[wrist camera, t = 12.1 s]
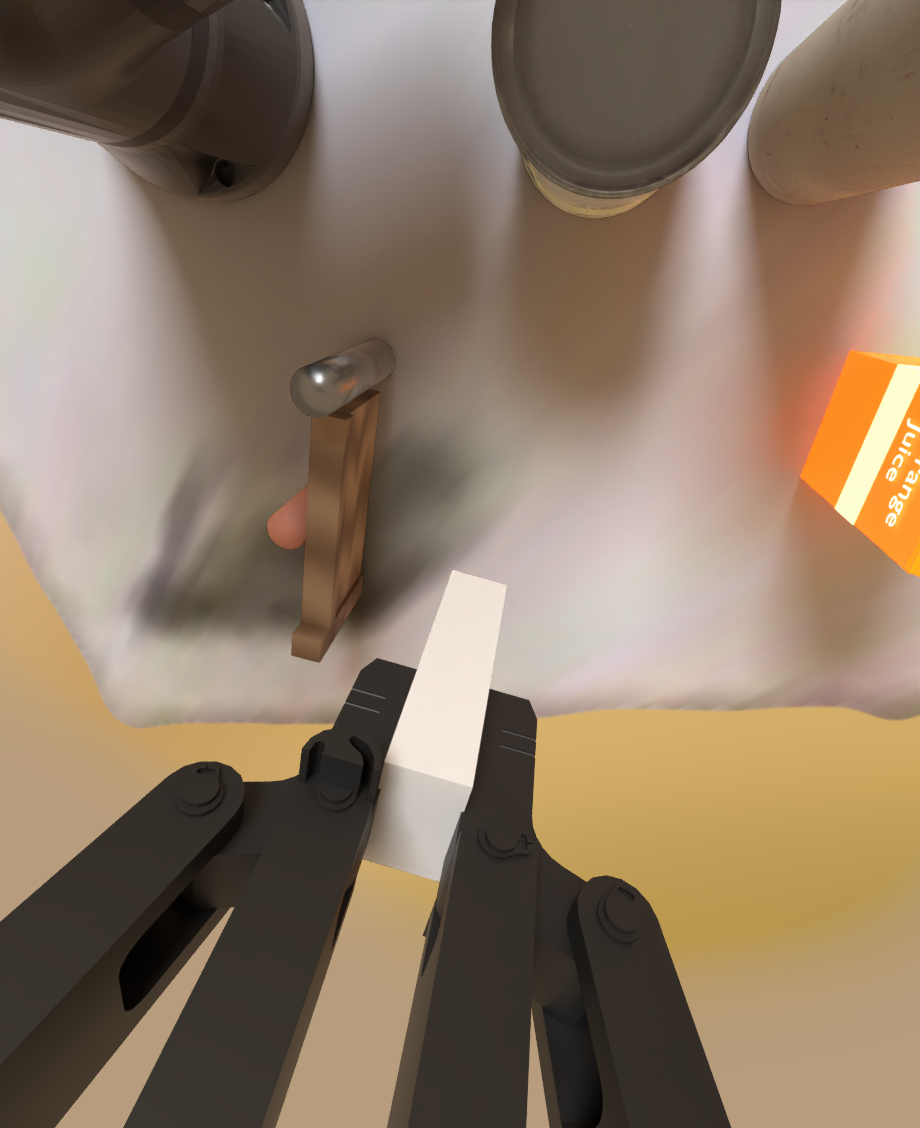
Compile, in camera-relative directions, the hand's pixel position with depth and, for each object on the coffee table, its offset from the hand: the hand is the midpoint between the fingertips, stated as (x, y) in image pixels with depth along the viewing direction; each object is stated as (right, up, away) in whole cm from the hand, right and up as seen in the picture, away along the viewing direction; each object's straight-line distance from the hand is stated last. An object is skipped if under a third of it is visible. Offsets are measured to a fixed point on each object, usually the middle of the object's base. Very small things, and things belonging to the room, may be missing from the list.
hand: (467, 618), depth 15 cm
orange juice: (+29, +11, +23) cm, 38 cm away
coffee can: (+8, +28, +18) cm, 34 cm away
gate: (-9, +7, +31) cm, 32 cm away
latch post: (-12, +7, +32) cm, 35 cm away
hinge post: (-6, +17, +26) cm, 32 cm away
